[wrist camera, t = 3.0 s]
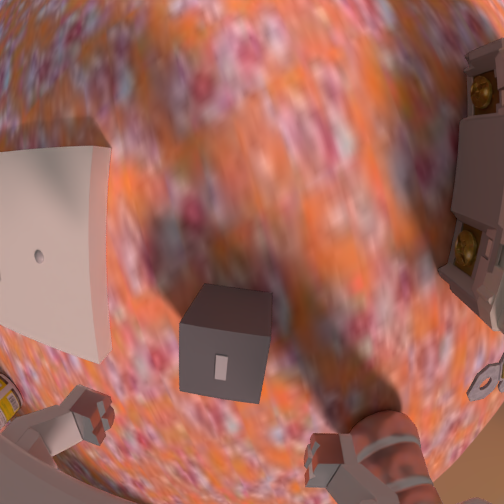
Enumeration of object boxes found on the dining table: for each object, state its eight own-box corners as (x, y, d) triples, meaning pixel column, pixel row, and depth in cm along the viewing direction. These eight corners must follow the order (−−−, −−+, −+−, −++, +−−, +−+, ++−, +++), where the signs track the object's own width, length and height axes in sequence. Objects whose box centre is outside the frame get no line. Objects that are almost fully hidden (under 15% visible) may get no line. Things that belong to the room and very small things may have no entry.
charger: (263, 349, 21) (258, 404, 15) (201, 340, 21) (179, 391, 16) (272, 292, 20) (270, 337, 14) (204, 283, 20) (179, 323, 14)
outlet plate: (112, 349, 22) (98, 364, 20) (-21, 299, 23) (-34, 307, 21) (111, 148, 18) (92, 145, 16) (-29, 158, 19) (-46, 159, 17)
